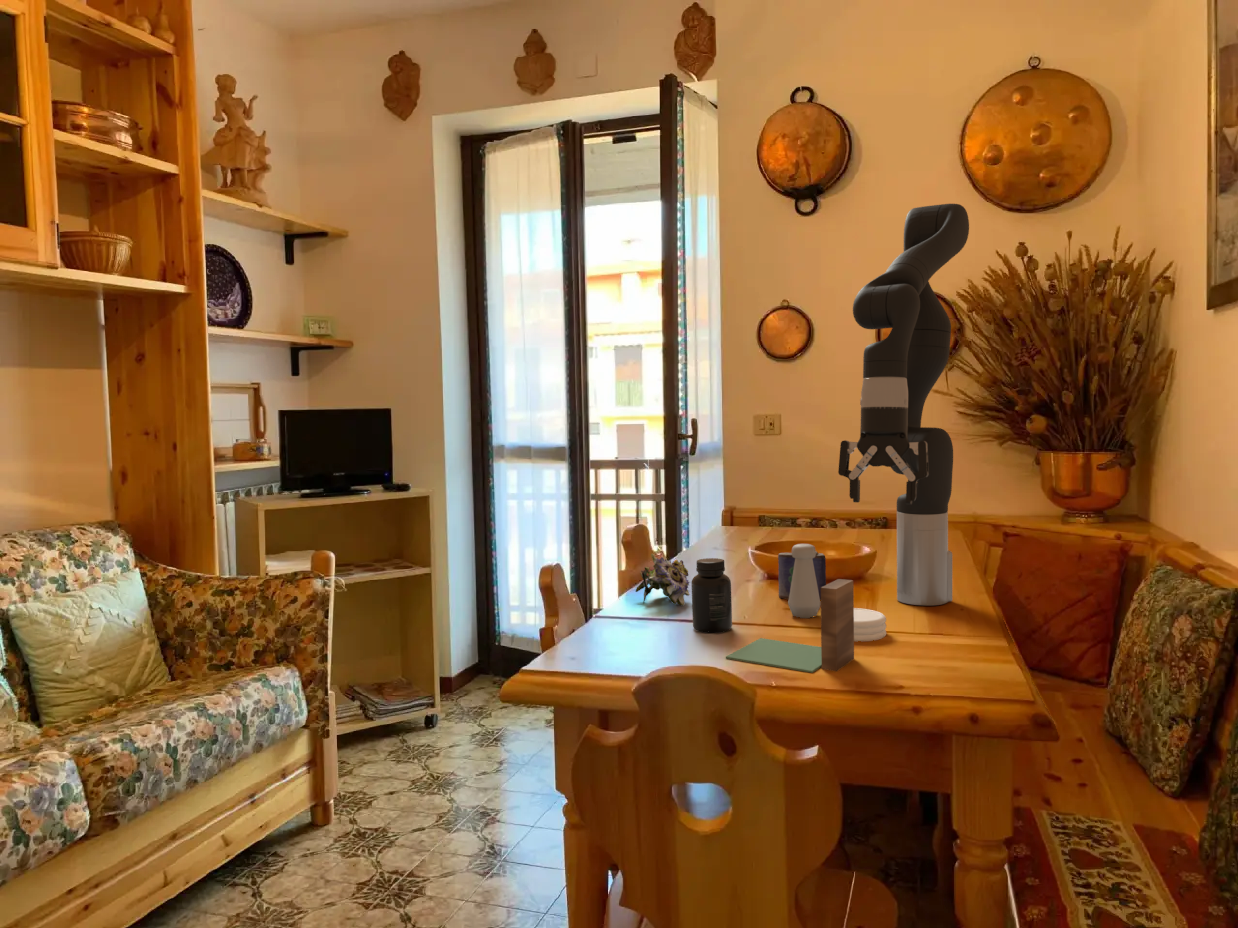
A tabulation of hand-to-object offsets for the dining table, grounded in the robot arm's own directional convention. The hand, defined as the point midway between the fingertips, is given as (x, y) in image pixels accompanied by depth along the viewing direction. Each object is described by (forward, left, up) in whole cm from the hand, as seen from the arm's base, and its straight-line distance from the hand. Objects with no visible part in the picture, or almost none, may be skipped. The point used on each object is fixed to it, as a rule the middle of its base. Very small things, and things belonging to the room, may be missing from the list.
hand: (882, 503), depth 145 cm
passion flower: (+26, -35, -22) cm, 49 cm away
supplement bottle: (+25, -13, -22) cm, 36 cm away
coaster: (+5, 0, -22) cm, 23 cm away
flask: (-1, -26, -22) cm, 34 cm away
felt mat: (+22, +6, -22) cm, 31 cm away
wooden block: (+17, +13, -22) cm, 30 cm away
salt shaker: (+6, -14, -22) cm, 27 cm away
